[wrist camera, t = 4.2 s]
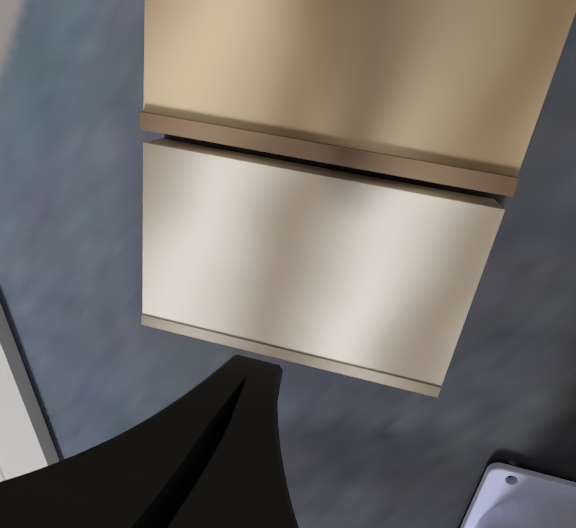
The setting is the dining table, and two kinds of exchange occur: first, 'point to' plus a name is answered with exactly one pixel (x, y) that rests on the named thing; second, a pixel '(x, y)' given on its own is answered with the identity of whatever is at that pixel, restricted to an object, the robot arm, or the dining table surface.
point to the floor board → (359, 81)
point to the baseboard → (20, 415)
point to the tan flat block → (311, 262)
